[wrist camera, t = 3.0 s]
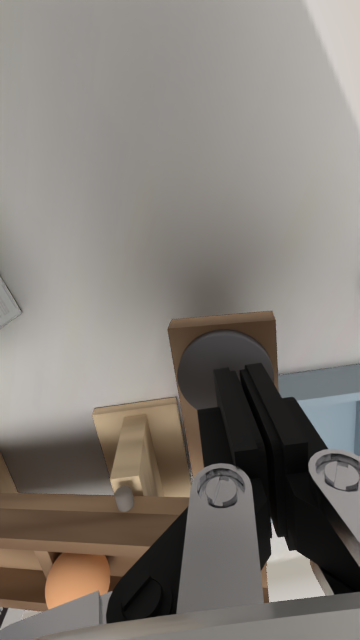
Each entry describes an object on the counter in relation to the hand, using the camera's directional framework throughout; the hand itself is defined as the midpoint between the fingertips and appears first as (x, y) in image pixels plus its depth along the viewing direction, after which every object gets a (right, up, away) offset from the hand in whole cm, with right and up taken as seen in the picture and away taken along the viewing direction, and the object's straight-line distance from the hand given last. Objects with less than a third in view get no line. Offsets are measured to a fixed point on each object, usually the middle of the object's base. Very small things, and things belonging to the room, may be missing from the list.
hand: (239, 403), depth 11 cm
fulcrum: (-5, -7, +13) cm, 16 cm away
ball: (-7, -11, +5) cm, 14 cm away
